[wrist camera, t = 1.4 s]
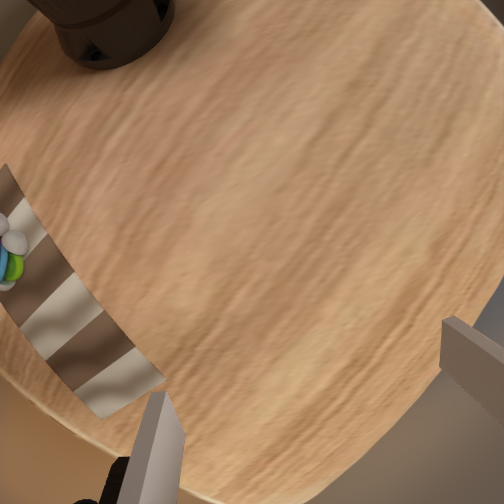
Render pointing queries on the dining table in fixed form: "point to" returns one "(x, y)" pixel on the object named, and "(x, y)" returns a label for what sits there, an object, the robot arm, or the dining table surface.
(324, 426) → the dining table surface
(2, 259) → the rainbow segmented toy
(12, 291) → the striped mat
